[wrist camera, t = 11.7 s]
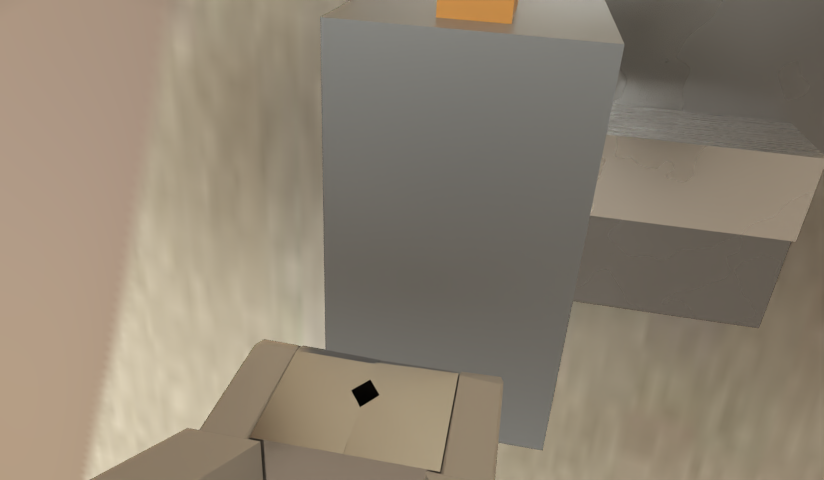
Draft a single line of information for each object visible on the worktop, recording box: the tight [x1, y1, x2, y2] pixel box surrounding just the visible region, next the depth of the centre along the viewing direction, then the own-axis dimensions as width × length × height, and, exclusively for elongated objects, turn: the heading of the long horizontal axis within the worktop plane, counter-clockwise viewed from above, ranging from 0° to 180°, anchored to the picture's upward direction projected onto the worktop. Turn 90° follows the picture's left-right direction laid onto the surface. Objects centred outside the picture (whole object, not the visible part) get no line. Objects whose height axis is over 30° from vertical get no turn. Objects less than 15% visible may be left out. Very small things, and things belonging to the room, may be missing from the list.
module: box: [320, 0, 625, 450], centre depth 14 cm, size 4×9×7 cm, turn 177°
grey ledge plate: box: [573, 0, 824, 328], centre depth 17 cm, size 12×10×4 cm
